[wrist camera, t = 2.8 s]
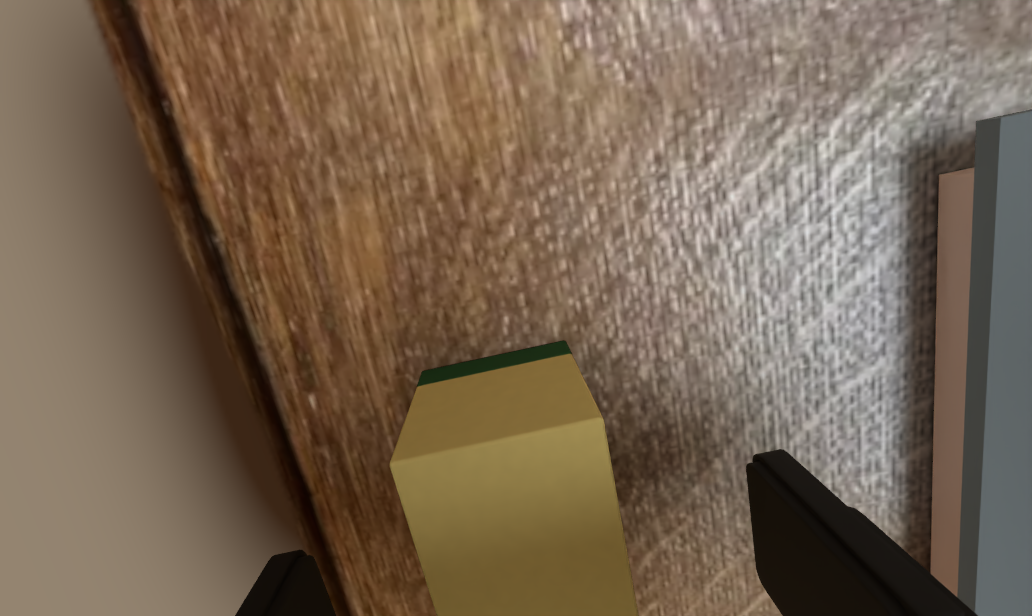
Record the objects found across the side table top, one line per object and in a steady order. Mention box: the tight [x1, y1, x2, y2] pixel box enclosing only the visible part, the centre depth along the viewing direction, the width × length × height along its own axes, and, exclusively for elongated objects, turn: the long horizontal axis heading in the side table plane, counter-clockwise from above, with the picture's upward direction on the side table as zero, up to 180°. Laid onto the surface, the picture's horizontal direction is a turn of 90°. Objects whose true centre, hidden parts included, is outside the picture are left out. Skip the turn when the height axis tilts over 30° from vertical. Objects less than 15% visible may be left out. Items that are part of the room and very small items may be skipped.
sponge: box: [390, 341, 639, 616], centre depth 12 cm, size 6×4×4 cm, turn 12°
